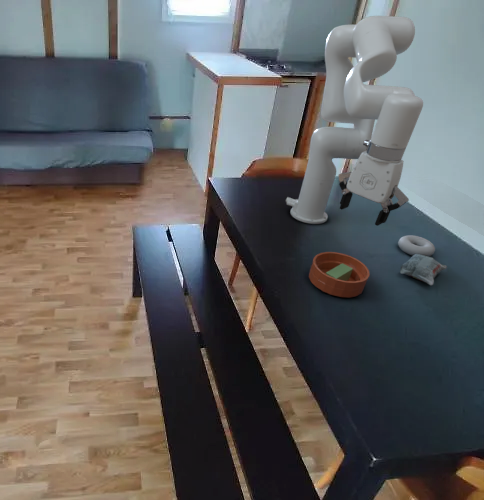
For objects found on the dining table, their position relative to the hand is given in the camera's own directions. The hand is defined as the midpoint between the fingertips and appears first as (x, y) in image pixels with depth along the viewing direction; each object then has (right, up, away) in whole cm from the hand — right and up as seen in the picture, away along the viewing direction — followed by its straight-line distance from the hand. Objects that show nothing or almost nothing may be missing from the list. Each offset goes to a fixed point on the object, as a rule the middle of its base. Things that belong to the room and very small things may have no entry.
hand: (360, 215), depth 104 cm
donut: (+30, -9, +25) cm, 40 cm away
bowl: (-2, -18, +9) cm, 20 cm away
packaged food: (+24, -16, +13) cm, 32 cm away
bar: (-2, -17, +9) cm, 20 cm away
